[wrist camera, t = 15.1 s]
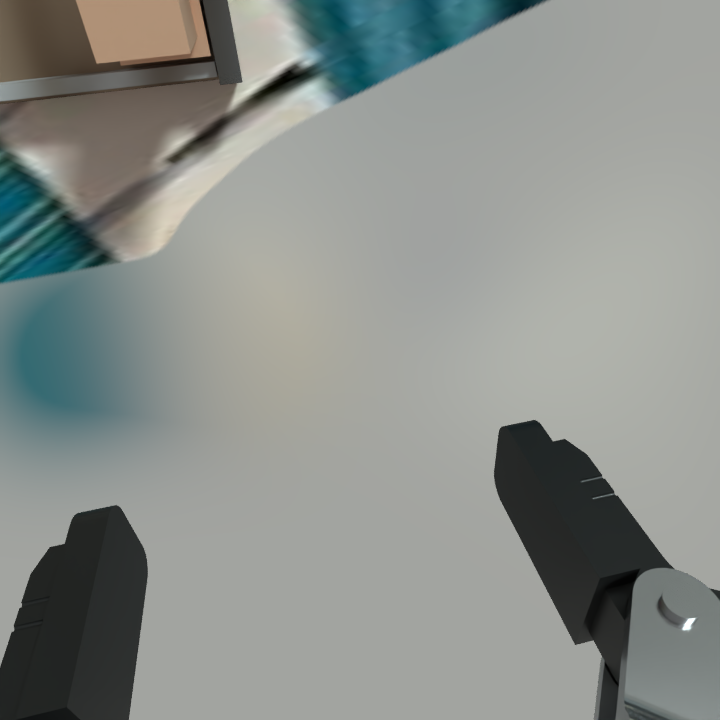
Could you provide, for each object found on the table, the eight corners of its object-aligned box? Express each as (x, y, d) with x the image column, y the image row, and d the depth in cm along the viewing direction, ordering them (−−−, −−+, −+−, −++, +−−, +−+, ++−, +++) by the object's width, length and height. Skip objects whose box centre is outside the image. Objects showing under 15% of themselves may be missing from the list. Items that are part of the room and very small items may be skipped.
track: (206, -113, 29) (204, -123, 26) (240, 73, 34) (242, 82, 31) (-199, -85, 26) (-252, -92, 23) (-93, 110, 32) (-125, 124, 29)
